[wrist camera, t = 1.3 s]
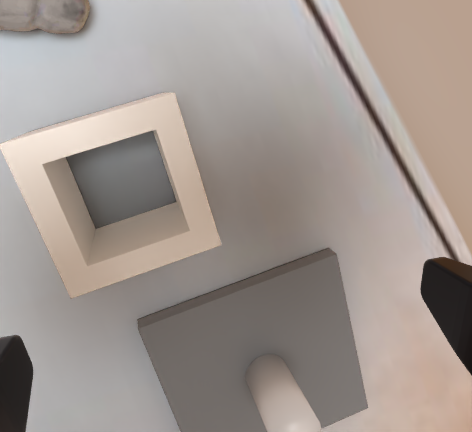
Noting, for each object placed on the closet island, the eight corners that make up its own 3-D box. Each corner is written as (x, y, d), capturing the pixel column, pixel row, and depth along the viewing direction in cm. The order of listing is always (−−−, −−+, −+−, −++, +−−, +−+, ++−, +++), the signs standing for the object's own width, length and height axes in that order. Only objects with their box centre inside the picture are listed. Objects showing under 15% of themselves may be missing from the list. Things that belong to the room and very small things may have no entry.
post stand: (199, 468, 28) (217, 563, 22) (137, 319, 24) (140, 390, 18) (360, 397, 30) (415, 469, 24) (328, 248, 25) (385, 292, 20)
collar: (82, 254, 22) (71, 298, 17) (28, 131, 20) (-2, 144, 15) (202, 213, 23) (221, 244, 18) (163, 92, 21) (174, 92, 16)
